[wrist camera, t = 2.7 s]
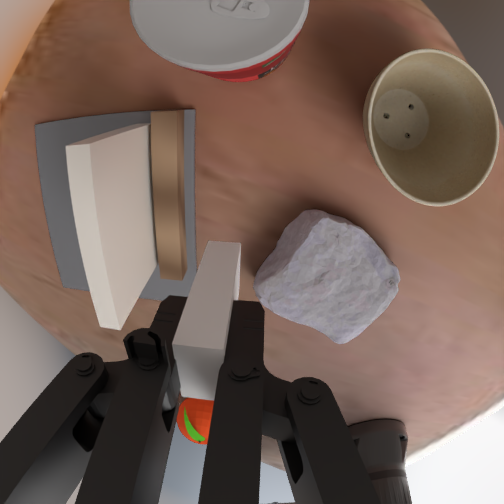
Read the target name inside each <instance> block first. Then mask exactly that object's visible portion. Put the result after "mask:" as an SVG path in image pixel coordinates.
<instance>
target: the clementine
mask: <svg viewBox="0 0 504 504" xmlns="http://www.w3.org/2000/svg"><path fill="white" fill-rule="evenodd" d="M213 404H214V400H205V399H197V398H189V397H188V398H186V399H185V400H184V401H183V402H182V403H181V405H180V406H179V411H178V415H177V419H176V420H177V424H178V427H179V429H180V431H181V433H182V434H183V435H184V436H185V437H186V438H188V439H189V440H190V441H192V442H194V443H198V444H207V442H208V436H209V429H210V423H211V417H212V411H213Z"/></svg>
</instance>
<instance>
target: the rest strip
mask: <svg viewBox="0 0 504 504" xmlns="http://www.w3.org/2000/svg"><path fill="white" fill-rule="evenodd" d="M151 157H152V182H153V200H154V215H155V228H156V240H157V251H158V261H159V270H160V279H169V280H180V281H183V278H184V276H185V273H186V271H187V250H186V227H185V194H184V110H160V111H154V112H151Z"/></svg>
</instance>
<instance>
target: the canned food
mask: <svg viewBox="0 0 504 504" xmlns="http://www.w3.org/2000/svg"><path fill="white" fill-rule="evenodd" d="M308 7H309V0H130V15H131V19H132V22H133V26H134V28H135V29H136V31H137V33H138V35H139V37H140V38H141V39H142V40H143V41H144V43H145V44H146V45H147V46H148V47H149V48H150V49H152V50H153V51H154V52H156V53H157V54H158V55H160V56H161V57H163V58H164V59H166V60H168V61H170V62H172V63H174V64H176V65H179V66H181V67H184V68H186V69H190V70H193V71H196V72H199V73H202V74H205V75H208V76H211V77H214V78H218V79H221V80H224V81H231V82H247V81H252V80H257V79H259V78H262V77H264V76H267V75H268V74H270V73H272V72H273V71H275V70H276V69H277V68H278V67H279V66H280V65H281V64H282V63H283V62H284V61H285V59H286V58H287V56H288V54H289V53H290V51H291V49H292V47H293V45H294V43H295V41H296V39H297V37H298V35H299V33H300V31H301V29H302V26H303V24H304V22H305V19H306V17H307V13H308Z"/></svg>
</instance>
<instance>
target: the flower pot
mask: <svg viewBox="0 0 504 504" xmlns="http://www.w3.org/2000/svg"><path fill="white" fill-rule="evenodd" d="M409 105H411V106H410V108H409ZM385 116H387V117H388V118H385ZM363 128H364V134H365V138H366V142H367V145H368V147H369V150H370V152H371V155H372V157H373V159H374V161H375V162H376V164H377V166H378V167H379V169H380V170H381V172H382V173H383V175H384V176H385V177H386V178H387V180H388V181H389V182H390V183H391V185H392V186H394V187H395V188H396V189H397V190H398V191H399V192H400V193H401V194H403V195H404V196H406V197H407V198H409V199H411V200H413V201H415V202H418V203H420V204H424V205H428V206H446V205H451V204H455V203H457V202H460V201H461V200H464V199H466V198H467V197H469V196H470V195H471V194H473V193H474V192H475V191H476V190H477V189H478V188H479V187H480V186H481V185H482V183H483V182H484V181H485V179H486V178H487V176H488V174H489V173H490V171H491V169H492V166H493V164H494V161H495V158H496V154H497V150H498V143H499V122H498V115H497V111H496V107H495V104H494V101H493V99H492V96H491V94H490V92H489V90H488V88H487V86H486V85H485V83H484V81H483V80H482V79H481V77H480V76H479V75H478V74H477V73H476V72H475V71H474V69H473V68H471V67H470V66H469V65H468V64H467V63H466V62H464V61H463V60H461V59H460V58H458V57H457V56H455V55H453V54H450V53H448V52H445V51H442V50H437V49H418V50H413V51H410V52H407V53H405V54H403V55H401V56H400V57H398V58H396V59H395V60H393V61H392V62H391V63H389V64H388V65H387V66H386V67H385V68H384V69H383V70H382V71H381V72H380V73H379V74H378V76H377V77H376V78H375V80H374V81H373V83H372V85H371V86H370V89H369V91H368V93H367V96H366V99H365V103H364V108H363ZM408 133H409V137H408Z"/></svg>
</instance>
